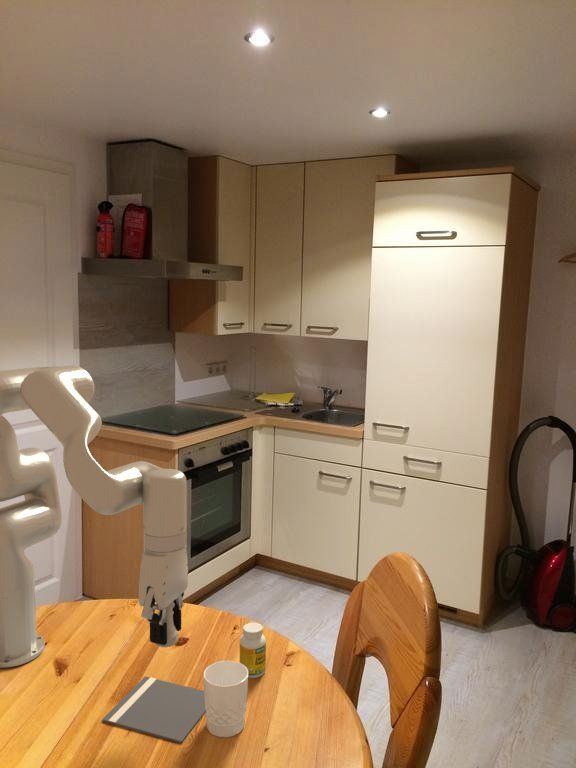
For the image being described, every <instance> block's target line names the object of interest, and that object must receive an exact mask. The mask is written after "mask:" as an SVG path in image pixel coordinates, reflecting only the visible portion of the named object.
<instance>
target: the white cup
mask: <svg viewBox="0 0 576 768" xmlns="http://www.w3.org/2000/svg"><path fill="white" fill-rule="evenodd" d="M202 675H203V691H204V699H205V711H206V712H205V718H206V719H205V720H206V729H207V731H208V732H209V733H210V734H211V735H214V736H215V737H218V738H230V737H234V736H237V735H238V734H240V733H241V732H242V730H243V729H244V728H245V722H246V721H245V717H246V711H247V702H248V701H247V700H248V688H249V687H248V686H249V685H248V684H249V678H248V669H247V668H246V667H245V666H244V665H243V664H241V663H240V661H239V662H238V661H233V660H221V661H216V662H214V663H212V664H210V665H208V666H207V667H206V668H205V669H204V671H203V674H202Z"/></svg>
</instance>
